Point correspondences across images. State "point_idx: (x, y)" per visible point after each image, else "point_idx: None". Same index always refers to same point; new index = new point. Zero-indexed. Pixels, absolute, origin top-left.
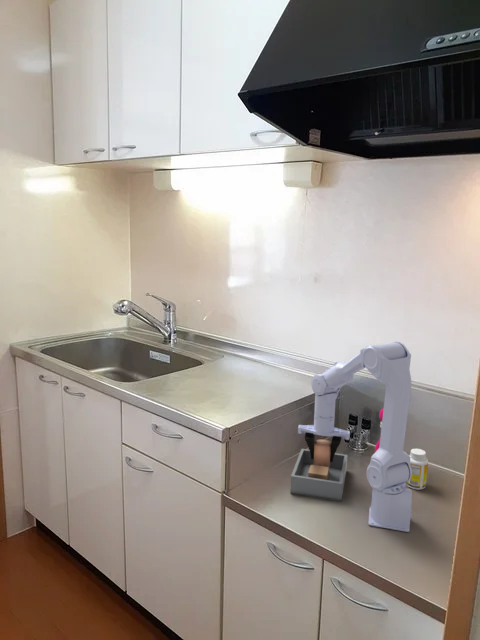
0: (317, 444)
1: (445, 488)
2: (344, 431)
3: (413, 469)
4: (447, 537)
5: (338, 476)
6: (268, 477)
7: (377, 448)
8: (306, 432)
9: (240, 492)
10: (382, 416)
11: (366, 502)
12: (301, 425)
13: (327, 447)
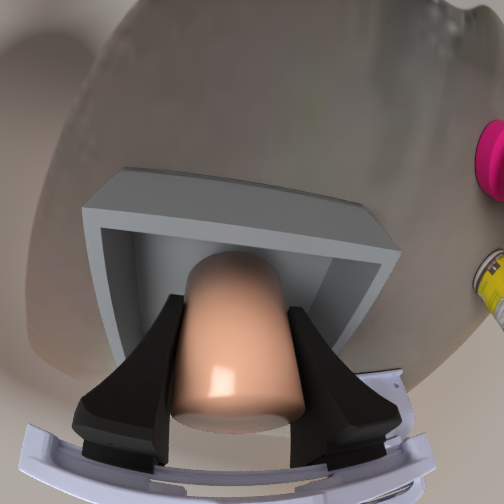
0: (199, 424)
1: None
2: (410, 474)
3: (501, 327)
4: (415, 385)
5: (307, 278)
6: (52, 294)
7: None
8: (99, 464)
9: (43, 350)
10: None
11: (345, 360)
12: (36, 476)
13: (265, 428)
